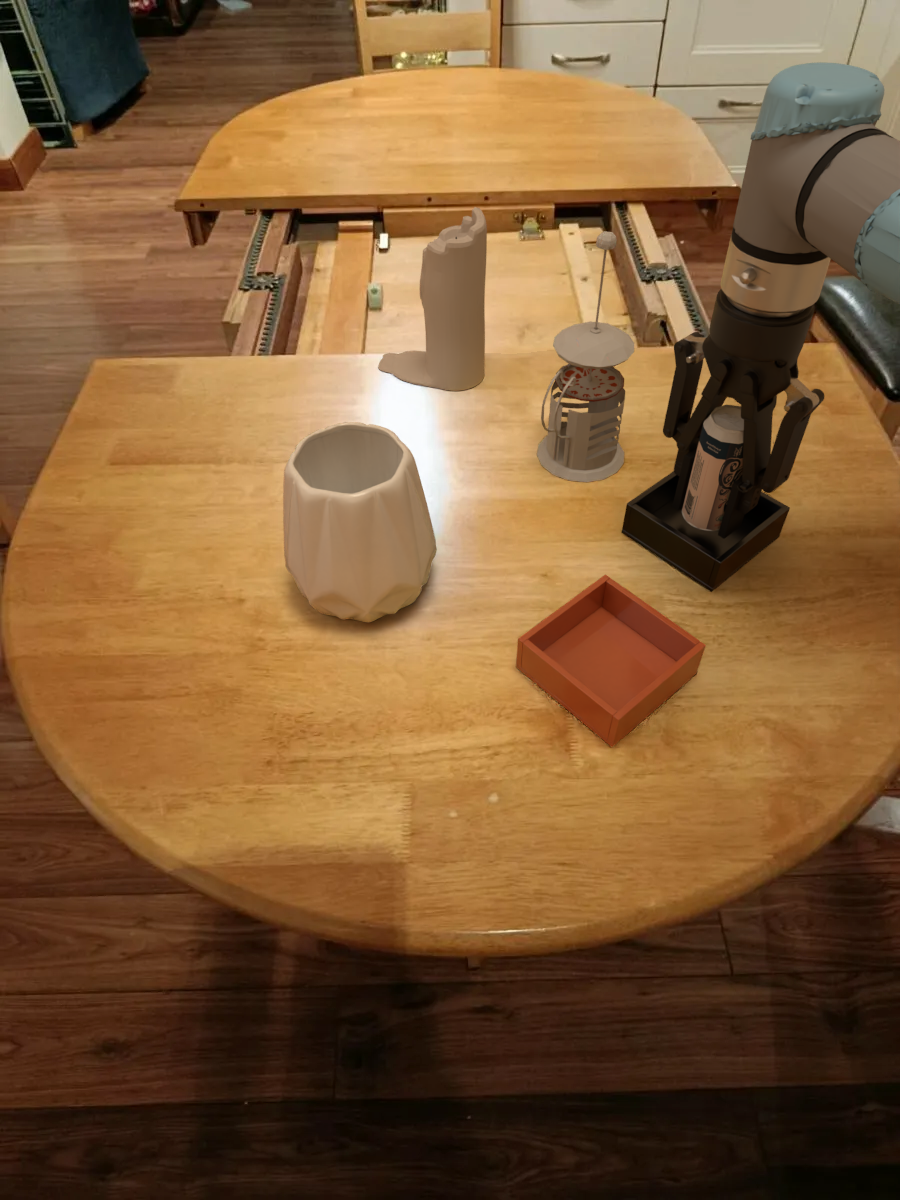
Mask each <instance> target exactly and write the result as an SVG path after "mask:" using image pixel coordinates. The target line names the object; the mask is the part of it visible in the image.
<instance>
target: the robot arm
mask: <svg viewBox="0 0 900 1200" xmlns="http://www.w3.org/2000/svg"><path fill="white" fill-rule="evenodd" d="M884 96H885V85H884V84H883V82H882V81H881V79H880V78H879V77H878V75H877V74H875V73H874V72H872V71H870V70H868V69H866V68H864V67H863V68H862V67H859V66H855V65H850V64H845V63H839V62H838V63H837V62H821V61H820V62H819V61H818V62H807V63H799V64H794V65H792V66H789V67H786V68H784V69H782V70H780V71H779V72H777V73H776V74H775V75H774V76H773V77H772V78H771V80H770V81H769V83H768V85H767V86H766V89H765V92H764V96H763V100H762V103H761V106H760V109H759V113H758V116H757V120H756V123H755V127H754V130H753V132H751V134H750V140H751V142H750V147H749V151H748V155H747V160H746V164H745V168H744V175H743V179H742V184H741V188H740V193H739V197H738V201H737V206H736V211H735V216H734V220H733V224H732V231H731V234H730V238H729V242H728V247H727V250H726V256H725V260H724V265H723V269H722V273H721V278H720V284H719V285H720V288H719V291H718V292H717V294H716V298H715V302H714V305H713V306H714V307H713V310H712V315H711V318H710V319H711V320H710V324H709V329H708V332H709V334H708V335H707V336H706V337H703V336H702V335H701V333H699V332H698V331H693V332H691V333H690V334H688V335H687V336H685V337H683V338H682V339H680V340H678V341H676V342H675V343H674V344H673V352H674V361H675V369H674V374H673V378H672V384H671V389H670V391H669V398H668V402H667V408H666V412H665V417H664V422H663V426H662V434H663V436H665V437H666V438H668V439H673V440H674V441H675V442H676V448H677V453H676V456H675V460H674V461H675V462H674V466H673V471H674V473H675V474H676V475H678V476H679V480H678V484H677V489H676V493H675V497H674V502H673V506H672V507H673V508H674V509H676V510H678V511H679V510H680V509H681V508H683V504H684V500H685V496H686V492H687V488H688V484H689V480H690V476H691V472H692V468H693V463H694V459H695V455H696V451H697V447H698V443H699V439H700V435H701V431H702V427H703V423H704V420H705V419H706V418H708V416H709V415H710V414H711V412H712V411H713V410H714V409H715V408H716V407H720V406H723V405H724V403H725V401H726V400H727V398H730V399H733V400H734V401H736V402H737V403H738V405H740V406H741V418H742V419H744V437H743V469H742V477H740V478H739V479H738V480H736V481H735V482H734V483H733V485H732V488H731V492H730V495H729V499H728V502H727V505H726V509H725V512H724V515H723V519H722V522H721V526H720V529H719V532H718V535H719V536H720V537H722V538H723V539H725V538H726V537H727V536H729V535H730V534H731V533H732V532H734V531H735V530H736V529H738V528H739V527H740V526H741V524H742V521H743V518H744V515H745V514H746V513H748V512H749V511H750V510H752V509H753V508H754V507H755V506H756V505H757V503H758V500H759V497H760V494H761V491H762V492H763V493H765V494H771V493H773V492H774V491H775V490H777V489H778V488H779V487H780V486H782V485H783V484H784V483H786V482H787V481H788V480H789V478H790V476H791V472H792V470H793V467H794V464H795V461H796V458H797V455H798V453H799V450H800V446H801V445H802V442H803V438H804V435H805V433H806V430H807V427H808V424H809V421H810V418H811V415H812V414H813V412H815V410H817V408H819V406H820V405H821V404H822V403H823V402H824V400H825V393H824V391H823V390H821V389H820V388H814V389H812V390H810V389H809V388H808V387H807V386H806V385H805V384H804V383H803V382H802V381H800V380H799V379H798V378H799V367H798V359H799V356H800V354H801V352H802V349H803V347H804V346H805V345H804V344H805V341H806V338H807V336H808V332H809V330H810V326H811V324H812V320H813V317H814V313H815V310H816V306H815V303H817V302H818V301H819V299H820V297H821V293H822V289H823V286H824V284H825V280H826V276H827V274H828V270H829V267H830V263H831V260H832V261H833V262H834V263H836V264H837V265H838V266H840V267H841V268H842V269H844V270H845V271H846V272H848V273H849V274H851V276H853V277H854V278H855V279H857V280H858V281H859V282H861V283H862V284H863V286H866V288H867V289H868V290H869V291H870V292H873V293H874V294H876V295H877V296H879V297H880V296H881V297H884V298H886V299H887V300H889V301H892V302H894V303H896V304H897V305H900V140H899V139H897V138H895V137H894V136H891V135H890V134H888V133H887V132H886V131H884V130H883V129H880V128H878V127H876V125H877V122H878V121H880V119H881V116H882V111H881V110H882V104H883V100H884ZM704 359H705V362H706V365H707V369H708V371H709V374H710V375H709V379H708V380H707V382H706V384H705V386H704V388H703V390H702V392H701V398H700V399H699V401H698V403H697V404H696V407H695V409H694V404H695V399H696V395H697V391H698V387H699V382H700V379H701V373H702V371H703V365H704ZM783 392H785V395H786V400H785V405H784V406H783V410H784V411H785V412H786V413H785V414H784V416H783V417H782V419H781V422H780V425H779V426H778V427H779V428H778V431H777V433H776V437H775V440H774V444H773V446H772V433H773V432H772V431H773V417H774V416H773V414H774V410H775V408H776V406H777V399H778V395H779V394H781V393H783ZM693 409H694V410H693Z"/></svg>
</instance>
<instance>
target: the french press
mask: <svg viewBox="0 0 900 1200" xmlns="http://www.w3.org/2000/svg"><path fill="white" fill-rule="evenodd" d="M617 240H618V239H617V236H616V234H615V233H614V232H613V231H606V230H604V231H602V232H601V233H599V234H598V235H597V236H596V242H595V247H596V248H597V249H600V250H603V258H602V267H601V274H600V283H599V291H598V298H597V308H596V315H595V321H585V322H580V323H575V324H572V325H570V326H567V327H565V328H563V329H561V330H560V331H559V332H558V333H557V334H556V335H555V336H554V338H553V343H552V347H553V348H554V350H555V352H556V354H557V356H558V357H559V358H560V359H561V360H563V361H564V362H565V363H567V364H565V365H563V366H561V367H560V369H559V370H557V372H555V375H554V376H553V377H552V379H551V380H550V383H549V384H548V387H547V389H546V392H545V394H544V397H543V400H542V403H541V414H540V420H541V425H542V427H543V429H544V431H546V432H547V435H545V436H544V437H543V439H542V440H541V441H540V442H539V443H538V445H537V450H536V457H537V458H538V460H539V463H540V465H541V467H543V468H544V469H545V470H546V471H548V472H549V473H550V474H552V475H553V476H555V477H559V478H561V479H563V480H565V481H571V482H579V483H580V482H581V483H590V482H595V481H596V482H597V481H601V480H602V481H603V480H606V479H607V478H609V477H611V476H613V475H615V474H617V473H618V471H619V470H620V469H621V467H622V466H623V465H624V464H625V450H624V449H623V448H622V446H621V444H620V442H619V438H620V437H619V436H620V432H621V424H622V419H623V418H622V417H623V416H622V415H623V413H624V408H625V400H626V389H625V388H624V387H625V377H624V376H623V374H622V373H621V371H620V370H618V369H617V368H615V367H616V366H618V365H620V364H622V363H625V362H626V361H628V360H629V359H630V357H632V355H633V354H634V353H635V341H634V339H632V337H631V336H630V334H629V333H627V332H626V331H624V330H622V329H620V327H617V326H615V325H612V324H610V323H608V322H599V315H600V308H601V300H602V292H603V282H604V277H605V274H604V273H605V268H606V259H607V251H610V250H613V249H615V248H616V247H617ZM556 389H559V391H557V392H555V393H554V391H555V390H556ZM550 391H551V392H550ZM549 392H550V399H549V401H550V402H549V414H548V425H547V427H546V424H545V404H546V400H547V398H548V395H549ZM553 393H554V394H553ZM563 398H564V399H570V400H571V399H572V400H578V401H581V403H579V402H578V403H577V402H566V401H565V402H564V401H562V399H563ZM556 399H558V400H556ZM563 409H568V411H563ZM572 409H578V410H579V409H587V411H584V412H579V411H575V410H572ZM618 417H619V418H618ZM562 418H565V419H566V418H567V419H566V421H563V420H562ZM617 427H618V429H617Z"/></svg>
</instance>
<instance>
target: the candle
mask: <svg viewBox="0 0 900 1200" xmlns="http://www.w3.org/2000/svg"><path fill="white" fill-rule="evenodd" d="M487 227H488V225H487V220H486V216H485V214H484V213H483V210H482V209H481V208H480V207H476V206H474V207H473V208H472V209H471V216H469V215H464V216H463V217H462V221H461V224H459V225H451V226H448V227H446V228H444V229H442V230H441V231H440V232H439V234H438V237H437V238H434V239H433V240H432V241H430V242H428V243H427V245H426V247H424V248H423V249H422V258H421V261H422V262H421V269H420V277H419V298H420V300H421V306H422V309H423V316H424V327H425V330H424V331H425V351H423V350H407V351H403V352H399V353H397V352H396V353H395V352H388V353H384V354H383V355H382V358H381V359H380V361H379V362H378V366H377V368H378V369H379V371H382V372H384V373H387V374H391V375H393V376H394V377H396V378H397V379H398V380H401V381H404V382H407V383H410V384H413V385H416V386H417V385H419V386H423V387H430V388H435V389H440V390H445V391H452V392H453V391H454V392H459V391H467V390H470V389H472V388H474V387H476V386H478V385H479V384H480V383H482V381H483V380H484V377H485V366H486V365H485V362H486V361H485V360H486V359H485V358H486V353H485V352H486V321H485V320H486V319H485V318H486V317H485V313H486V312H485V307H486V306H485V297H486V275H487V273H486V272H487V253H488V252H487V251H488V250H487V244H488V242H487V241H488V228H487Z"/></svg>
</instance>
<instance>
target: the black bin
mask: <svg viewBox="0 0 900 1200" xmlns="http://www.w3.org/2000/svg"><path fill="white" fill-rule="evenodd" d="M678 480H679V476H678V475H676V474H675V473H674V470H673V471H671V472H670V473H668V474H667V475H666V476H664V477H663V478H661V479H660V480H658V481H657V482H655V483H654V484H653V485H651V486H650V487H649V488H647V489H645V490H644V491H642V493H640V494H638V495H637V496H635V497H634V498H632V499H631V500H630V501H628V502H627V503H626V505H625V510H624V518H623V521H622V526H621V534H623V535H624V536H626V537H627V538H628V539H630V540H632V541H634V542H635V543H636V544H638V545H639V546H641V547H643V549H645V550H646V551H648V552H650V553H651V554H653V555H655V556H656V557H657V558H659V559H660V560H662V561H663V562H664V563H666V564H668V565H669V566H671V567H672V568H674V569H675V570H676V571H678V572H680V573H681V574H683V575H684V576H686V577H687V578H689V579H690V580H692V581H694V582H695V583H697V584H698V585H700V586H701V587H703V588H704V589H705V590H707V591H708V592H710V593H713V592H714V591H715V590H716V589H717V588H719V587H720V586H721V585H722V584H724V583H725V582H727V580H729V579H730V578H731V577H732V576H733V575H735V574H736V573H737V572H738V571H739V570H741V569H742V568H743V567H744V566H746V565H747V564H748V563H749V562H751V561H752V560H753V559H754V558H755V557H757V556H758V555H759V554H761V553H762V552H763V551H764V550H766V549H767V548H768V547H769V546H770V545H771V544H773V543H774V542H776V540H777V539H779V538H780V537H781V533H782V531H783V528H784V526H785V523H786V521H787V517H788V515H789V512H790V509H791V507H790V506H788V505H786V503H783V502H781V501H780V500H777V499H776V498H774V497H772V496H770V495H769V494H768V493H766V492H764V491H763V490H762V491H761V494H760V497H759V500H758V503H757V505H756V506H755V507H754V508H753V509H752V510H750V511H749V512H748V513H746V514H745V515H744V518H743V521H742V524H741V526H740V527H739V528H738V529H736V530H735V531H734V532H732V533H731V534H730V535H729V536H727V537H726V538H725V539H723V538H722V537H720V536H719V535H718V532H719V530H718V531H704V530H700V529H697V528H695V527H693V526H691V525H690V524H689V523H687V522H686V520H685V519H684V517H683V515H682V508H681V509H680V510H679V511H678V510H676V509H674V508H673V507H672V506H673V502H674V497H675V493H676V489H677V484H678Z"/></svg>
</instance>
